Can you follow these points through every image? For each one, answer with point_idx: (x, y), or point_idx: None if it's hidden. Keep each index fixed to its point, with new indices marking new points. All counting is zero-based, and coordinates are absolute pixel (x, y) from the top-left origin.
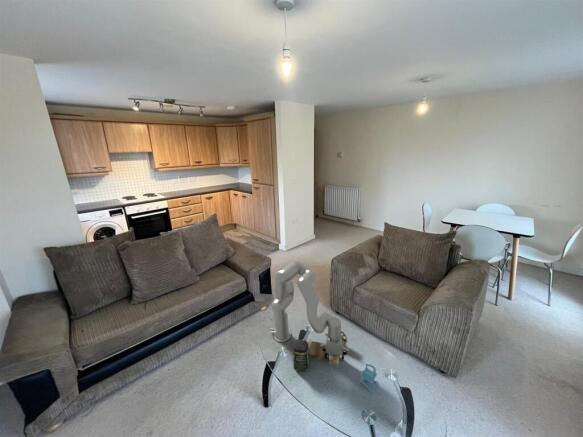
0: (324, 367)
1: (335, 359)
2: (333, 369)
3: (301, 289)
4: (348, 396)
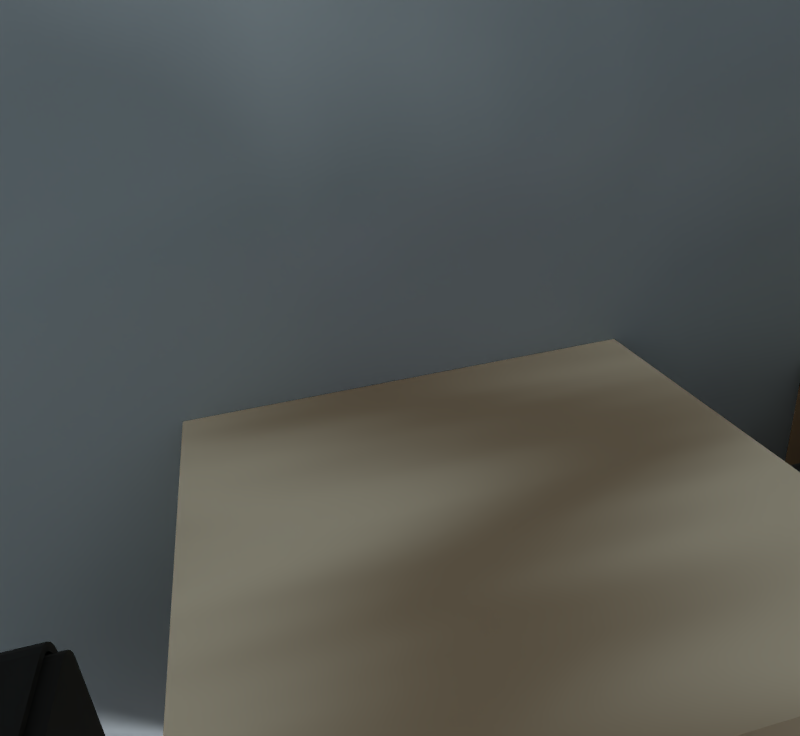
0: (793, 51)
1: (419, 595)
2: (373, 86)
3: None
4: None
